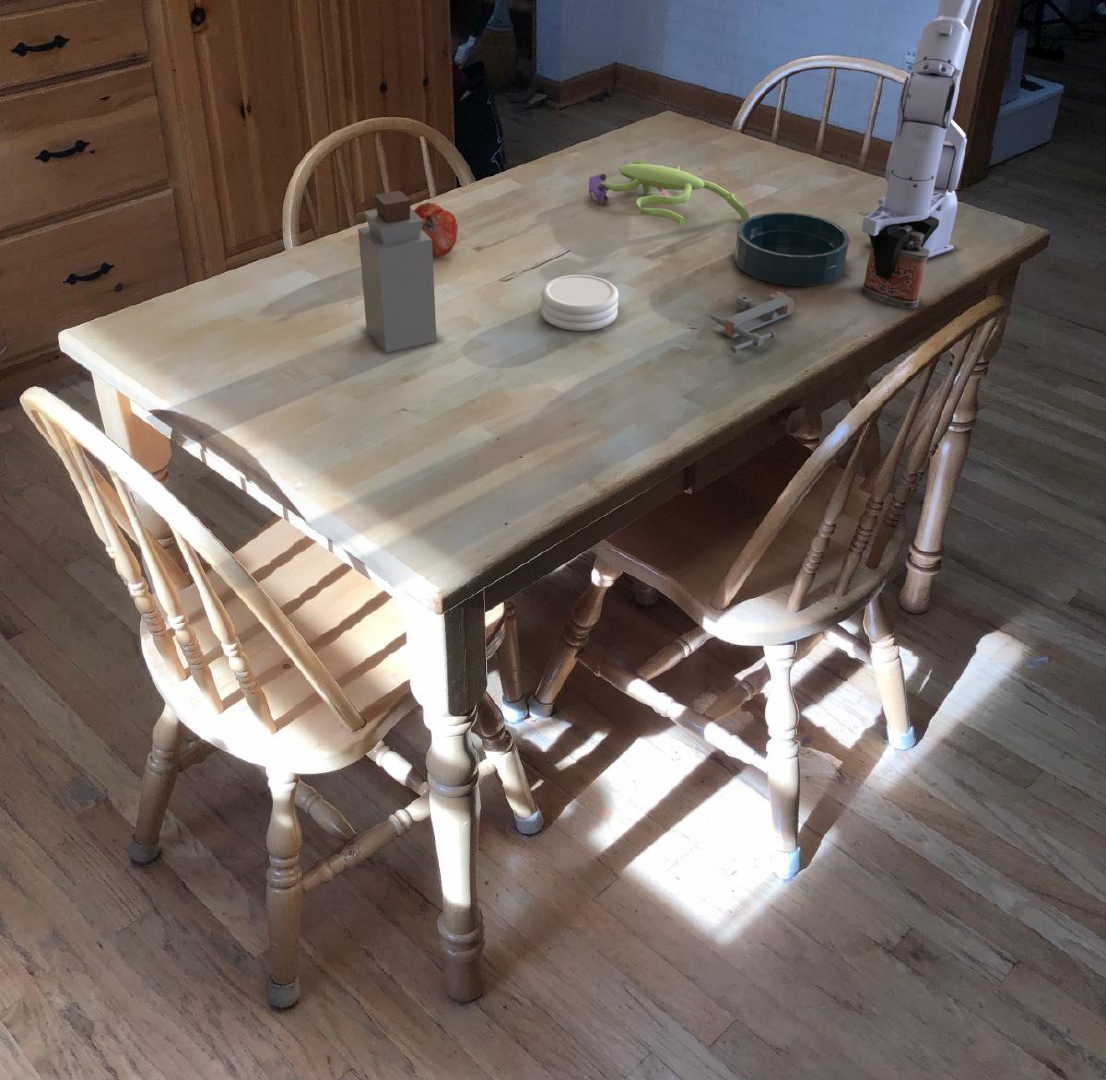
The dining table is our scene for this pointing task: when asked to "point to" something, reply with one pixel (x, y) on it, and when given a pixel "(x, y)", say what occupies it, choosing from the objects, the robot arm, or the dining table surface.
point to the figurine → (660, 188)
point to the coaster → (579, 302)
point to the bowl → (791, 248)
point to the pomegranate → (438, 227)
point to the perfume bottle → (397, 275)
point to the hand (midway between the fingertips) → (893, 272)
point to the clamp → (768, 311)
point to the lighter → (899, 273)
